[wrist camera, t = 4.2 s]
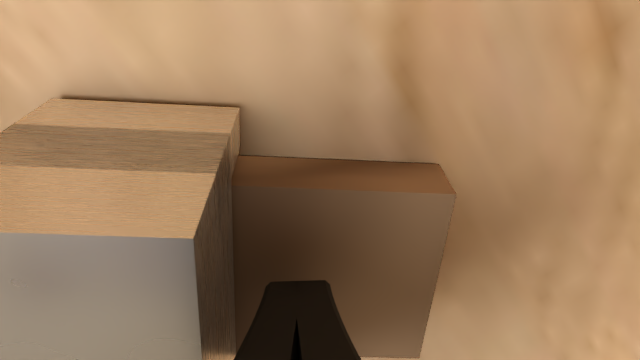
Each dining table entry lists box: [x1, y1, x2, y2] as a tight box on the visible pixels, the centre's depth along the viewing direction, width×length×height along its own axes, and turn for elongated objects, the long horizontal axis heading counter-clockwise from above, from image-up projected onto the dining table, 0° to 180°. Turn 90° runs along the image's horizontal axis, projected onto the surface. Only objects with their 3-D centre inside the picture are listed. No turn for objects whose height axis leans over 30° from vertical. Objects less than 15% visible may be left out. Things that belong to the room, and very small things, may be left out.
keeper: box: [0, 98, 240, 360], centre depth 10 cm, size 4×8×5 cm, turn 176°
